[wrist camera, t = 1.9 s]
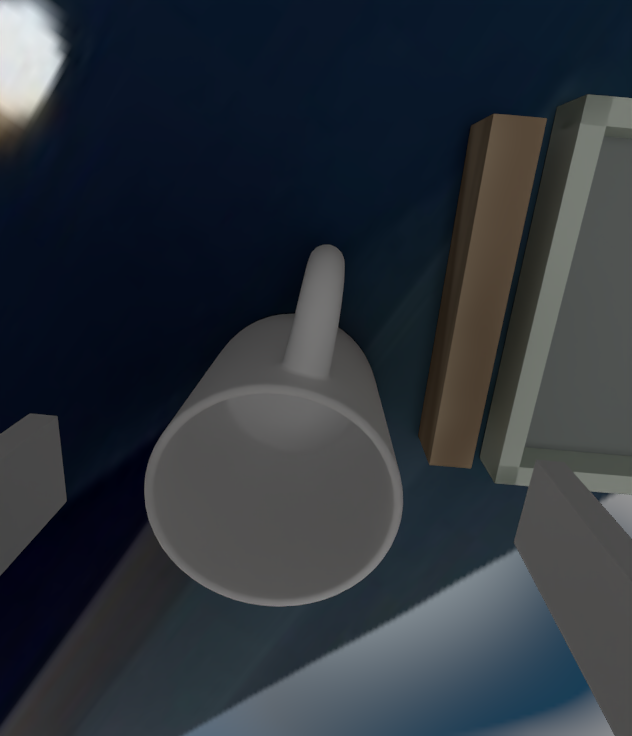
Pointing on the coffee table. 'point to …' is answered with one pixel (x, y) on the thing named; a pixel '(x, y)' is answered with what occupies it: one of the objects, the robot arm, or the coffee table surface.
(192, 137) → the coffee table surface
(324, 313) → the mug
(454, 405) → the edge rail
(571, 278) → the frame
